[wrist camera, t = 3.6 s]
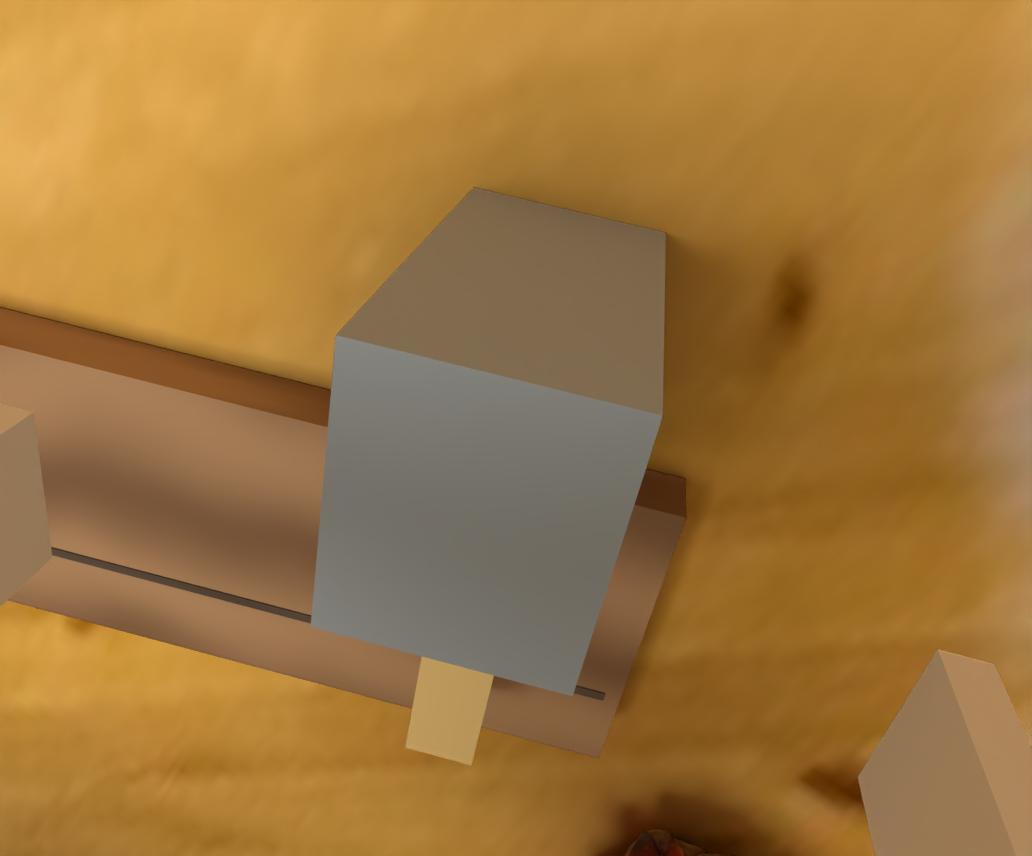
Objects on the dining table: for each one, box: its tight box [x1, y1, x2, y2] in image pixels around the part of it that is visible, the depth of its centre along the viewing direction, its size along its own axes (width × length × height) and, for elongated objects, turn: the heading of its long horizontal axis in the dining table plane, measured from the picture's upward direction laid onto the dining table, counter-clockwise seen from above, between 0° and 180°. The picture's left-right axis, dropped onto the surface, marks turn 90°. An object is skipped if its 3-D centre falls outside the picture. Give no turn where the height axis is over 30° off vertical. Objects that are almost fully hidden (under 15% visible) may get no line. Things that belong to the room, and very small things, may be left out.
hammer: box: [311, 187, 666, 765], centre depth 20 cm, size 15×5×10 cm, turn 169°
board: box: [0, 308, 687, 759], centre depth 26 cm, size 10×26×2 cm, turn 79°
